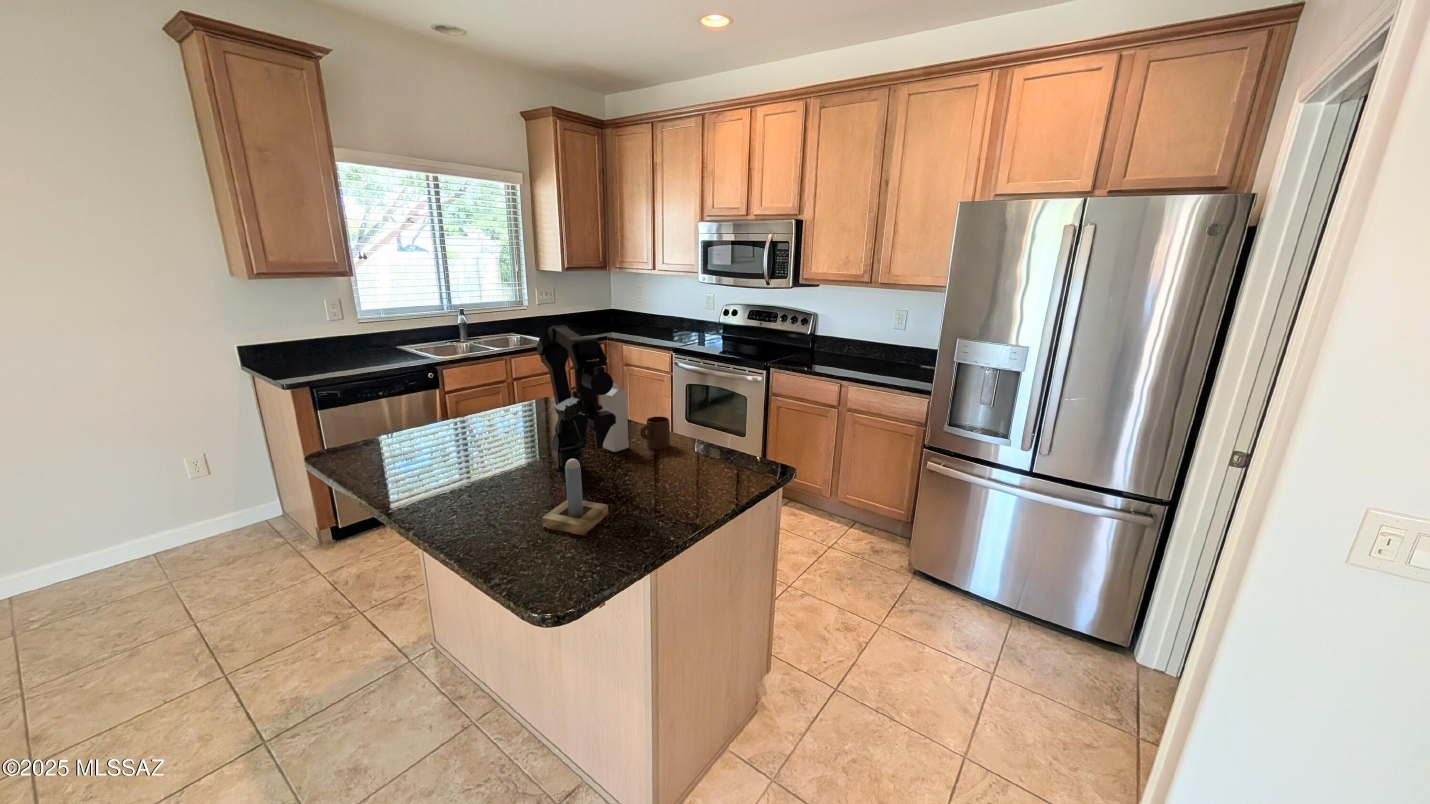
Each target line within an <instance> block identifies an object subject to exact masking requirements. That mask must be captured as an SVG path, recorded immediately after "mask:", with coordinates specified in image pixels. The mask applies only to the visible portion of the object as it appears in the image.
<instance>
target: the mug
mask: <svg viewBox="0 0 1430 804" xmlns="http://www.w3.org/2000/svg"><path fill="white" fill-rule="evenodd" d="M670 429H671V427H670V419H669V417H666V416H653V417H652V416H651V417H648V418H646V424H644V425H642V426H641V428H640V431H639V432H640V437H641V438H642V439H643V440H646V445H647V448H648V449H651V450H655V451H662V450H666V449H667V448H669V447H670V443H671V440H670V439H671V438H670V437H671V435H670V434H671V432H670V431H671V430H670Z"/></svg>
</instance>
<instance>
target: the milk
mask: <svg viewBox="0 0 1430 804" xmlns="http://www.w3.org/2000/svg"><path fill="white" fill-rule="evenodd" d="M627 395H628V394H627V392H626V391H624V390H621V389H620V385H619V384H618V383H614V382H613V386H612V389H611V390H610V391H609V392H608V393H607V394H605V395H600V405H602V408H603V410H600V412H601V411H608V412H611V413H613V414H614V415H615V416H616V424H613V426H611V428H610V430H609V431H608V433H607V435H606V438H605V440H604V442H603V444H602V447H603V449H605V450H607V451H610V452H612V453H616V452H619V451H622V450H625V449H628V448H629V447H630V446H629V422H628V397H627Z"/></svg>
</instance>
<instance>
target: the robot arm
mask: <svg viewBox="0 0 1430 804" xmlns="http://www.w3.org/2000/svg"><path fill="white" fill-rule="evenodd" d="M536 351H537V355H538V356H539V357H540V361H541V363H542V364H543V365H544V367H546V368H547V370H548V371H549V372H548V373H549V378H550V382H551V389H552V393H553V396H554V402H555V405H554V407H553V408H554V410H555V413H556V415H557V417H558V418H557V421H556V425H555V427H554V435H553V436H552V437H553V438H552V440H551V447H552V448H551V449H552V450H553V452H555V453H556V454H557V464H558V465H557V467H555V469H554V470H555V471H558V472H565V466H566V462H567V461H568V460H569V459H576V460H578V461H579V463H580V466H581V469H582V468H583V467H585V466H586V464H585V463H584V457H583V456H584V455H583V453H582V449H586V447H587V446H586V445H587V436H588V434H587V429H588V428H589V429H591V430H592V433H593V438H594V442H595V447H596V449H597V450H599V449H601V448H602V447H603V442H604V440H605V438H606V435H607V433H608V431H609V430H610V428H611V426H613V424H616V416H615V415H614V414H613V413H611V412H608V411H601V410H603V408H602V405H601V404H600V396H601V395H605V394H607V393H608V392H609V391H610V390H611V389H612V386H613V383H614V380H613V378H612V375H611V374H609V373H608V372H606V371H605V370H606V369H605V367H606V366H608V364H607V357H606V354H605V352H604V349H603V348H602V345H601V343H600V341H598V339H597V338H596V337H592V336H581V335H579V334H578V333H576V332H575V331H573V330H572V329H570V328H569V325H552V326H550V327H548V331H547V332H545V333H544V334H543V335H541V336H540V337H539V338H538V341H537V344H536ZM569 359H570V361H571V363H572V368H573V370H574V382H575V383H574V385H575V389H574V390H572V392H571V391H570V384H569V379H568V375H567V370H566V364H567V362H568V360H569Z"/></svg>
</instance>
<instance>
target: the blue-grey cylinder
mask: <svg viewBox="0 0 1430 804" xmlns="http://www.w3.org/2000/svg"><path fill="white" fill-rule="evenodd" d="M581 471H582V468H581V466H580V463H579V461H578V460H576V459H569V460H568V461H567V462H566V466H565V473H564V474H565V483H566V484H565V487H566V488H565V489H566V500H567V502H568V515H569V516H568V517H573V518H578V519H580V518H581V517H582V516H584V513H583V485H582V484H583V483H582V472H581Z"/></svg>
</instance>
